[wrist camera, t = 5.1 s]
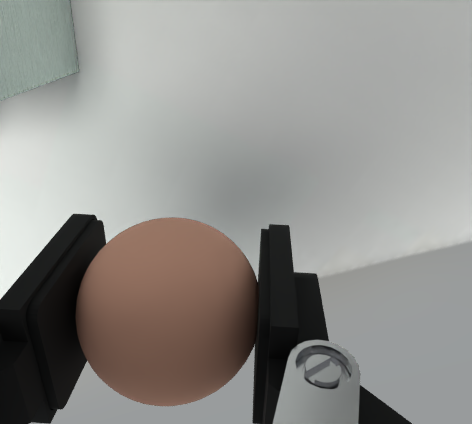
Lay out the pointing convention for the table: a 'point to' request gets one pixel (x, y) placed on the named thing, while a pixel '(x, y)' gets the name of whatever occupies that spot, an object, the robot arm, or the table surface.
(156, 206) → the table surface
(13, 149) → the table surface
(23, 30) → the box
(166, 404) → the peach sphere
